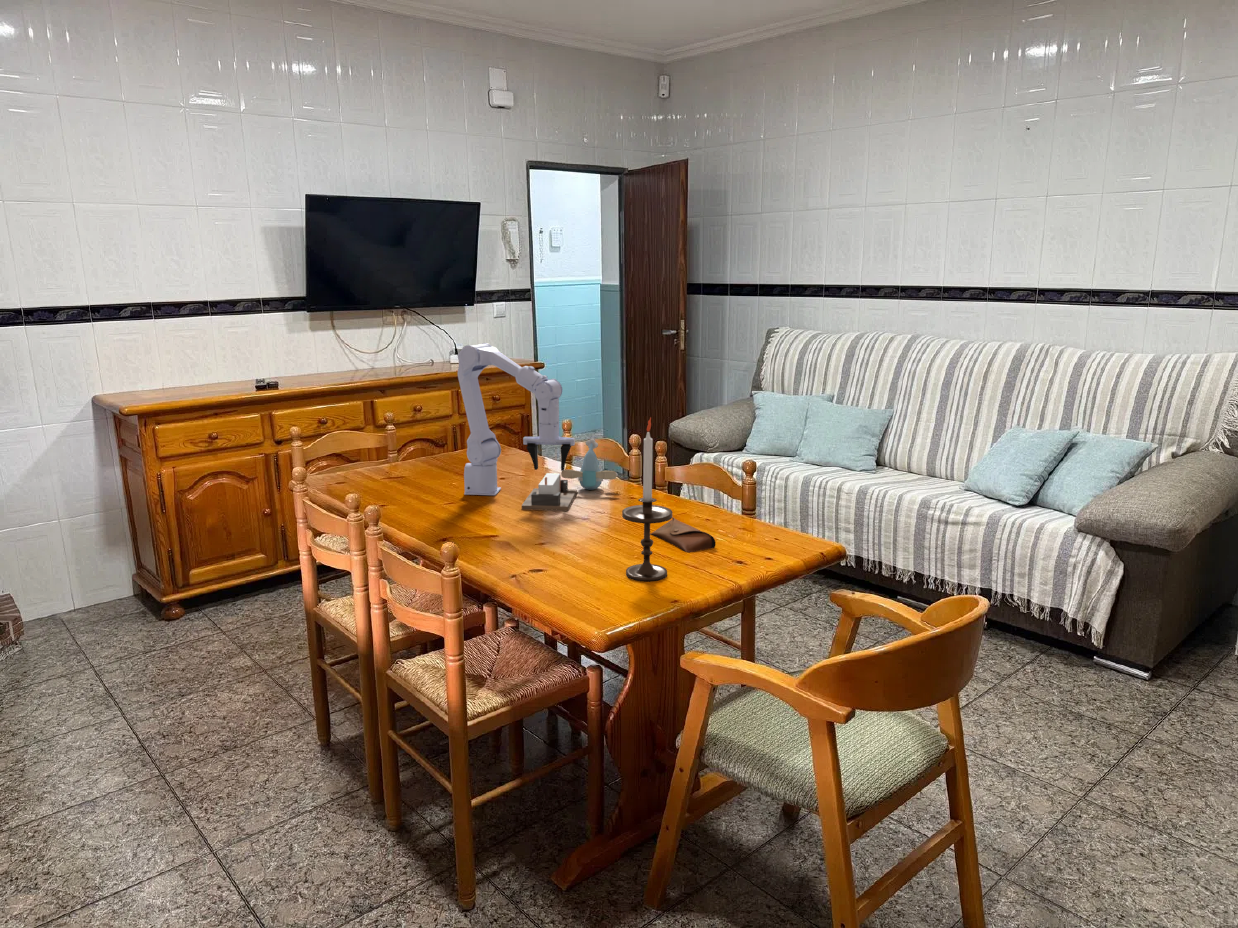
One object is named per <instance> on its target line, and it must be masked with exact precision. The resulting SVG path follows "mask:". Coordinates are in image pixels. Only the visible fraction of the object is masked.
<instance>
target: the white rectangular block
mask: <svg viewBox="0 0 1238 928" xmlns="http://www.w3.org/2000/svg"><path fill="white" fill-rule="evenodd" d="M561 478H562V476H561V473H558V472H557V473H554V472H553V473H552V472H551V473H550V472H549V473H548V472H546V474H544V477H543V478H542V479H541V481H540V482H539V483H538V484H537V485H538V489H539V494H554V495H556V494H557V492H560V490H561V480H562V479H561Z"/></svg>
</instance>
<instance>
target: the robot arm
mask: <svg viewBox="0 0 1238 928" xmlns="http://www.w3.org/2000/svg"><path fill="white" fill-rule="evenodd" d="M457 361H458V367H457V379H458V382H459V387H460V392H461V397H462V400H463V401H462V402H463V405H464V409H465V414H466V419H467V422H468V427H469V431H470V434H469V436H468V438H467V440H466V445H467V449H466V456H467V459H468V461H469V462H466V463H465V466H464V469H463V470H464V472H463V479H464V480H463V481H464V493H463V494H464V495H465V496H467V495H469V496H470V495H471V496H475V495H476V496H477V495H478V496H496V495H497V494H498V493H499V492H500V491H501V490H502V487H500V486H498V474H497V473H498V466H497V464H498V463H497V462H498V458H499V457H500V456H501V453H502V447H501V444H500V443H499V441H498V440H497V437H496V434H495V433H494V432H493V431H491V429H490V427H489V423H488V418H487V414H486V410H485V405H484V400H483V396H482V391H481V388H480V384H479V379H478V378H479V376H480V375H481V373H482V371H484V369H486V368H487V367H488V366H491V365H492V366H495V367H496V368H498V369H500V370H501V371H504V372H505V373H507V374H509V375H511V376H512V377H514V378H515V382H516V383H517V384H518V385H520V387H523V388H524V389H526V390H527V391H529V392H531V393H533V394H534V397H535V399H536V401H537V406H538V436H524V437H523V438H522V440H523V441H522V442H523V445H525V446H526V450H527V452H528V455H529V456H530V457H531V461H532V464H533V468H534V469H533V470H534V471H537V470H538V469H539V461H538V460H539V457H538V455H539V454H538V451H539V445H543V446H544V445H546V446H550V445H551V446H560V457H561V459H560V460H561V462H560V471H561V472H562V471H564V470H566V469H565V466H566V462H567V458H568V455H569V453H570V450H571V448H572V446H575V444H576V438H575V437H566V436H560V400H559V399H560V398H561V396H562V395H563V387H562V384H561V383H560V382H559V381H558V379H556V378H551V379H550V378H548V376H547V375H545V374H544V375H543V374H542V373H539V372H538V371H536V370H535V369H536V368H535V367H534V366H532V365H530V366H528V365H524V366H521V365H520V364H518V363H516V362H515V361H514V360H512V359H511V358H510V357H508V356H507V355H505V354H504V353H502V352H501V351H500V350H499V349H498V347H496V346H493V345H491V344H490V343H489V342H483V343H479V344H472V345H471V344H467V345H464V346H463V347H461V349H460V350H459V352H458V353H457Z"/></svg>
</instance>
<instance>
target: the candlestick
mask: <svg viewBox="0 0 1238 928" xmlns="http://www.w3.org/2000/svg"><path fill="white" fill-rule="evenodd" d="M647 424H648V425H647V427H646V435H645V438H643V472H642V473H643V474H642V475H643V479H642V482H643V483H642V484H643V486H642V487H643V488H642V489H643V490H642V497H641V498H638V502H640V503H642V504H639V505H638V504H637V505H631V506H628V507H625V508H623V509H622V511H621V516H622V519H624V520H626V521H627V522H631V523H637V524H643V538H642V539H641V540H640V545H641V546H642V549H643V550H642V551H640V552H641V553H640V554H641V555H642V556H643V562H642V563H638V564H633V565H631V566H629V567H627V568H626V570H625V577H627V578H628V579H630V580H632V581H635V582H640V583H641V582H642V583H653V582H660V581H662V580H664V579H666V578H667V577H668V570H667V568H665V567H664V566H662V565H657V564H652V563H651V560H650V559H651V558H650V557H651V555H653V551H651V547H652V546H654V545H653V544H654V540H653V539H651V534H650V533H651V524H659V523H660V524H661V523H665V522H667V521H668V522H669V521H670V520H672V519H673V510H672V509H671V508H668V507H666V506H661V505H655V504H653V503H654V502H657V500H658V499H656V498H653V445H654V444H653V442H654V441H653V438H652V437H651V434H650V431H651V427H652V417H649V420H648V421H647Z"/></svg>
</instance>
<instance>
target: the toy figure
mask: <svg viewBox="0 0 1238 928" xmlns="http://www.w3.org/2000/svg"><path fill="white" fill-rule="evenodd" d="M585 445H586V446H587V447H588V451H587V452H586V453H585V454H584V457H583V461H582V465H581V468H580V470H575V469H564V471H561V472H560V475H561V478H563V479H568V480H570V479H577V481H578V482H579V484H580V486H581V487H582V488H584V489H585V490H588V491H591V490H592V491H593V490H596V489H598V488H599V487H600V486H601V484H602V482H604V480H608V481H609V480H611V481H612V480H615V479H617V477H619V475H618V473H617V472H616V471H614V470H602V471H601V469H600V467H599V466H600V461H599V460H598V458H597V455H596V453H595V451H594V449H596V448H598V446H599V443H598V442H596V440H595V439H594V438H590V439H589V440H585Z"/></svg>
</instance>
